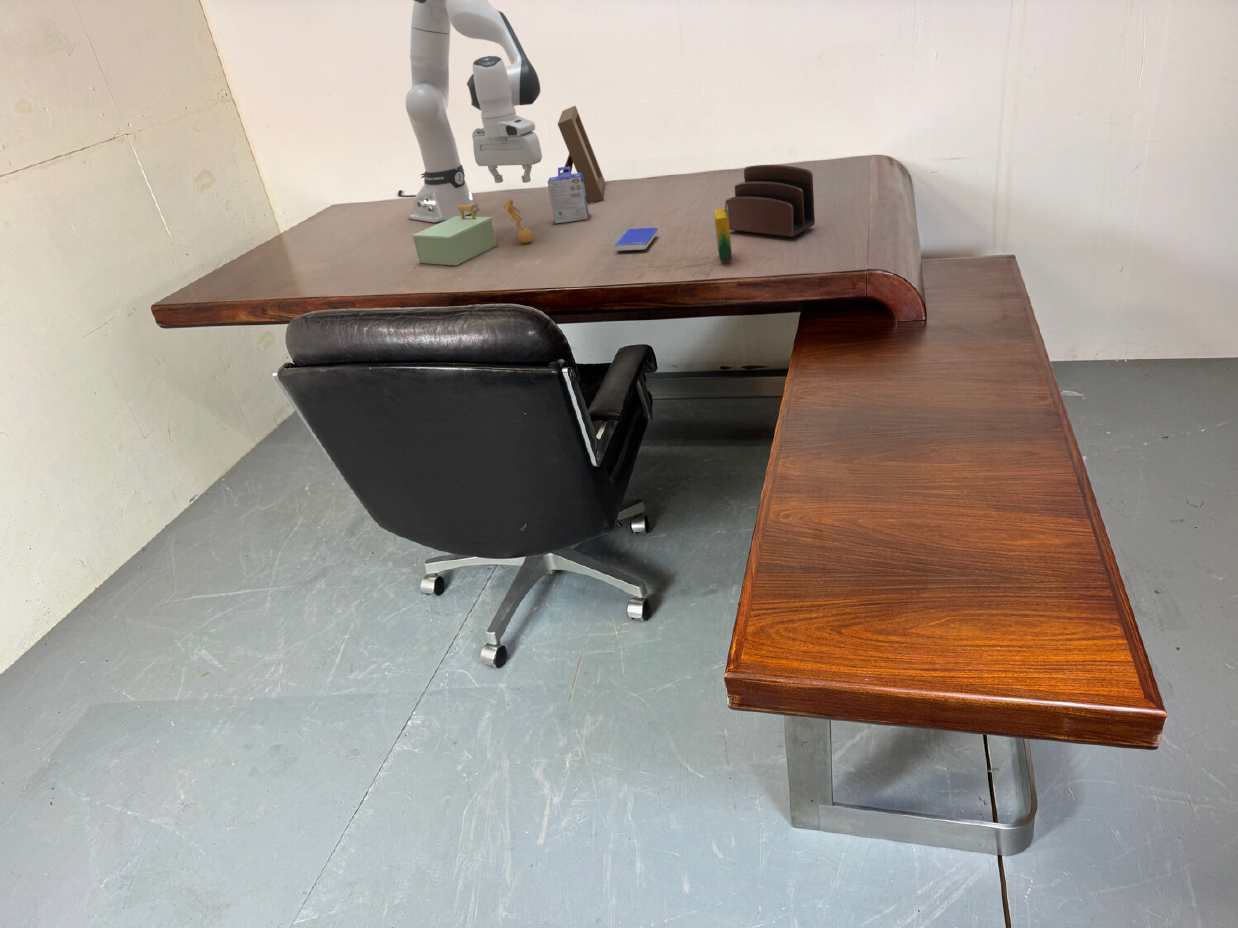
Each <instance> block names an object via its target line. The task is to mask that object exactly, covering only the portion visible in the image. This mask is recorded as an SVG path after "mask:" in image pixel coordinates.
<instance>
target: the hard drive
mask: <svg viewBox="0 0 1238 928" xmlns="http://www.w3.org/2000/svg"><path fill="white" fill-rule="evenodd" d="M658 234H659V228H658V227H645V228H641V227H640V228H629V229H627V230H626V231H625V233H623V235H622V236H621V237H620V239H618V241H617V242H616V243H615V244H614V250H615V251H639V250H641V251H642V250H646V249H647V248H648V247H649V245H650V244H651V243H652V241H653V240H654V239H655V238H656V236H657V235H658Z"/></svg>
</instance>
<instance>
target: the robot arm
mask: <svg viewBox="0 0 1238 928" xmlns="http://www.w3.org/2000/svg"><path fill="white" fill-rule="evenodd" d="M508 19H509V18H507V16H506V14H504V12H502V11H500V10H497V9H496V8H495V7H493V5H492V4H490V2H489V1H488V0H413V6H412V14H411V21H410V23H411V24H410V25H411V26H410V48H409V58H410V72H411V88H410V89H409V90H408V92H407V93H406V95H405V100H404V101H405V103H404V104H405V110H406V113H407V116H408V119H409V122H410V124H411V127H412V130H413V133H414V135H415V138H416V141H417V143H418V147H419V150H420V151H419V152H420V155H421V158H422V159H421V160H422V162H423V167H424V170H425V171H424V173H421V174H420V176H421V177H420V179H423V185H422V187H421V188H420V189H419V191H418V192H417V193H416V194H410V195H409V194H407V195H406V194H405V195H403V194H402V193H403V190H401V189H400V190H398V193H397V195H398V197H399V198H413V205H414V210H415V211H414V212H412V213H411V214H409V219H410V220H415V221H421V222H429V223H440V222H443V221H446V220H448V219H450V218H453V217H455V216H461V213H460V211H459V210H458V205H474V206H475V210H474V212H476V211H477V207H476V203H475V202H474V201H473V196H472V193H471V192H470V189H469V187H468V184H467V183H468V182H467V181H466V179H465V177H466V175H465V169H464V167H463V165H462V164H461V159H460V156H459V150H458V146H457V143H456V138H455V136H454V133H453V131H452V127H451V125H450V122H449V118H448V115H447V114H448V113H447V109H448V107H449V95H450V94H449V93H450V91H449V89H450V70H449V66H450V65H449V64H450V46H451V30H452V29H451V28H454V30H455V31H456V32H457V33H459V34H460V35H462V36H464V37H465V38H468V39H472V40H482V41H488V42H492V43H495V44H497V45H499V46H500V47H502V49H503V51H504V52H505V54H506V56H507V58H508V61H509V62H510V65H506V64H505V63H504V61H503V59H502V57H499V56H498V55H487V56H482V57H479V58H477V59H476V60H474V61H473V63H472V74H471V75H470V76H469V78H468V80H467V82H466V85H467V88H468V90H469V97H470V101H471V102H470V103H471V106H472V107H474V108H475V109H477V110H479V111H481V113H480V117H481V122H482V127H481V128H479V127H478V128H475V129H474V131H473V132H472V134H471V138H472V147H473V148H472V149H473V156H474V161H475V163H476V164H477V166H478V167H487V169H488V171H489V173H490V175H492V177H493V180H494V183H495V184H500V183H503V182H504V178H503V174H500V173H499V171H498V167H500V166H502V167H503V166H504V167H505V166H522V170H524V171H523V175H521V181H522V183H525V184H526V183H530V182H531V181H532V180H531V179H532V178H531V172H532V169H533V166H534V165H536V164H539V163H541V162H542V158H543V153H542V148H541V143H540V140H539V137H538V135H537V134H536V133H535V132H534V131H535V130H536V125H535V122H534V121H532V120H529V119H527V118H524V117H521V116H519V115H517V112H516V111H517V110H516V108H515V107H516V106H528V105H533V104H534V103H535V101H537V99H538V98H539V96H540V94H541V81H540V77H539V75H538V73H537V71H536V70H535V67H534V66H533V64H532V62H531V61H530V60H529V58H528V57H527V54H526V52H525V50H524V48H523V46H522V44H521V42H520V40H519V38H518V36H517V34H516V32H515V31H514V28H513V26H512V24H511V23H510V21H509V20H508ZM451 26H452V27H451ZM505 65H506V66H505ZM468 215H471V211H464V216H468Z"/></svg>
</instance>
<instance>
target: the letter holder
mask: <svg viewBox="0 0 1238 928" xmlns="http://www.w3.org/2000/svg"><path fill="white" fill-rule="evenodd" d="M743 179H744V181H743V182H738V183H737V182H736V184H734V196H733V197H729V198H726V199H725V201H726V204H727V207H728V215H729V228H730V230H731V231H737V232H746V233H754V234H761V235H763V234H764V235H772V236H780V237H788V238H794V237H796V236H798V235H799V234H801V233H803V232H805V231H806V230H809V229H810V228H811V227H813V226H815V223H816V222H815V221H816V216H815V198H814V197H815V196H814V195H815V194H814V175H813V172H812V171H811V170H809V169H806V168H802V167H797V166H791V165H781V164H759V165H758V164H757V165H748V166H745V168H744V169H743ZM725 208H726V206H725V205H724V209H725Z"/></svg>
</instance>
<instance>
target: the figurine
mask: <svg viewBox="0 0 1238 928" xmlns="http://www.w3.org/2000/svg"><path fill="white" fill-rule="evenodd" d="M514 203H515V202H514V200H513V199H509V200H508V201H506V202H504V204H503V208H504V210H505V213H506V214H507V216H508V217H509V218H510V221H511V222H512V223H514V222H515V221H516V224H515V225H516V228H518V229H519V230H518V232H517V239H518V241H519V242H520V243H522V244H529V243H530V242H532V240H533V232H532V231H531V229H529V228H526V227H525V226H523V225H521V222H522V220H523V219H522V216H520V215H519V214H521V211H520V210H519V209H518V208H517V207H515V206H514V205H513V204H514ZM516 211H517V212H516ZM518 213H519V214H518Z"/></svg>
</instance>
